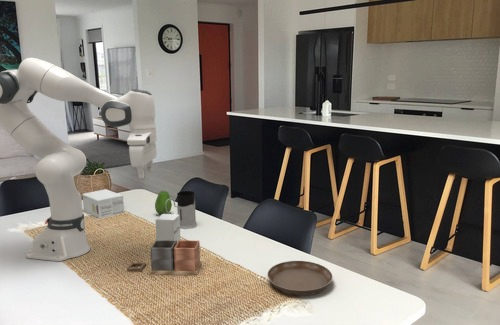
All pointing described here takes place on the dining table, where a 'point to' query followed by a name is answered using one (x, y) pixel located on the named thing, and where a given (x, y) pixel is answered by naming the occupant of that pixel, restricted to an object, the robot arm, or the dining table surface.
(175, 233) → the supplement box
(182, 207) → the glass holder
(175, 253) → the stacked cubby shelf
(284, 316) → the dining table surface
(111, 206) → the supplement box
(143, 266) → the ball stand
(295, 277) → the plant saucer
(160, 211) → the avocado
